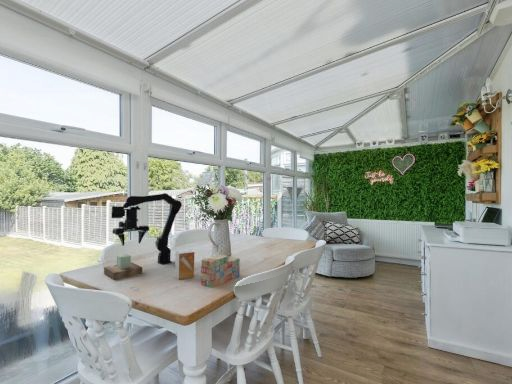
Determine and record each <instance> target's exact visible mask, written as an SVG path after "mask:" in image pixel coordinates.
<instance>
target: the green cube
mask: <svg viewBox="0 0 512 384" xmlns="http://www.w3.org/2000/svg"><path fill="white" fill-rule="evenodd" d="M131 262H132V259H131V255H130V254H127V253H125V254H121V255H120V254H119V255H116V265H117V268H119V269H124V268H129V267H131Z"/></svg>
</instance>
